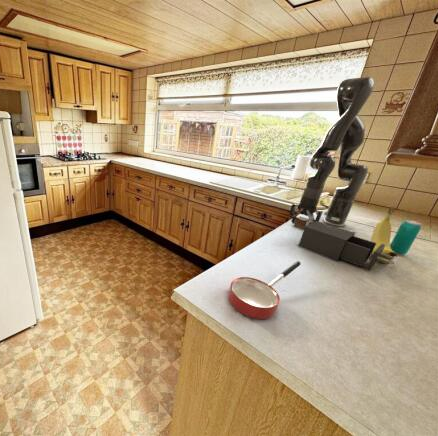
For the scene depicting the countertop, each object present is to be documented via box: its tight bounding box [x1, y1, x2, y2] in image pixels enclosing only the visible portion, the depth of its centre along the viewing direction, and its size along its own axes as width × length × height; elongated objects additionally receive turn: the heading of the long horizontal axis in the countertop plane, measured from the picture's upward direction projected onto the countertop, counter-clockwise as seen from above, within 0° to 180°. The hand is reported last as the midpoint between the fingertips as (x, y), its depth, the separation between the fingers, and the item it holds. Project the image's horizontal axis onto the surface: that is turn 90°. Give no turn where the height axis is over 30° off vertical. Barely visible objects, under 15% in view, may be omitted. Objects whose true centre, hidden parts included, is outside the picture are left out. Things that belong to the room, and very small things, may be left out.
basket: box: [339, 235, 399, 272], centre depth 91 cm, size 18×11×8 cm, turn 37°
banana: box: [370, 206, 399, 265], centre depth 95 cm, size 23×6×20 cm, turn 148°
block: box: [293, 216, 310, 231], centre depth 123 cm, size 5×5×5 cm
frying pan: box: [227, 260, 301, 320], centre depth 73 cm, size 32×13×6 cm, turn 130°
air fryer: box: [298, 221, 356, 262], centre depth 101 cm, size 15×13×10 cm
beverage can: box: [390, 219, 423, 257], centre depth 100 cm, size 6×6×15 cm
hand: (300, 225), depth 124 cm, fingers open, 7 cm apart
